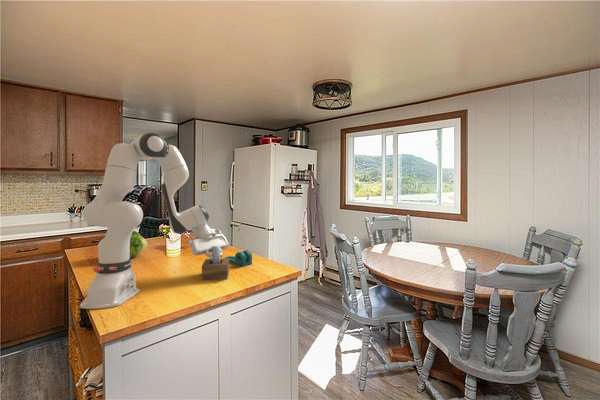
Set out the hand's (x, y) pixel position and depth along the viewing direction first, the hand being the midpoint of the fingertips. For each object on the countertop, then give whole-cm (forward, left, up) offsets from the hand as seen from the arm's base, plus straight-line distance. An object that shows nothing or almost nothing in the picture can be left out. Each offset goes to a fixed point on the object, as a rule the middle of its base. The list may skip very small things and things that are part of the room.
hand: (217, 257), depth 149 cm
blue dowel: (0, 0, -6) cm, 6 cm away
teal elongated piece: (+23, -9, -10) cm, 27 cm away
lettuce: (+41, +58, -9) cm, 72 cm away
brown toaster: (0, 0, -9) cm, 9 cm away
